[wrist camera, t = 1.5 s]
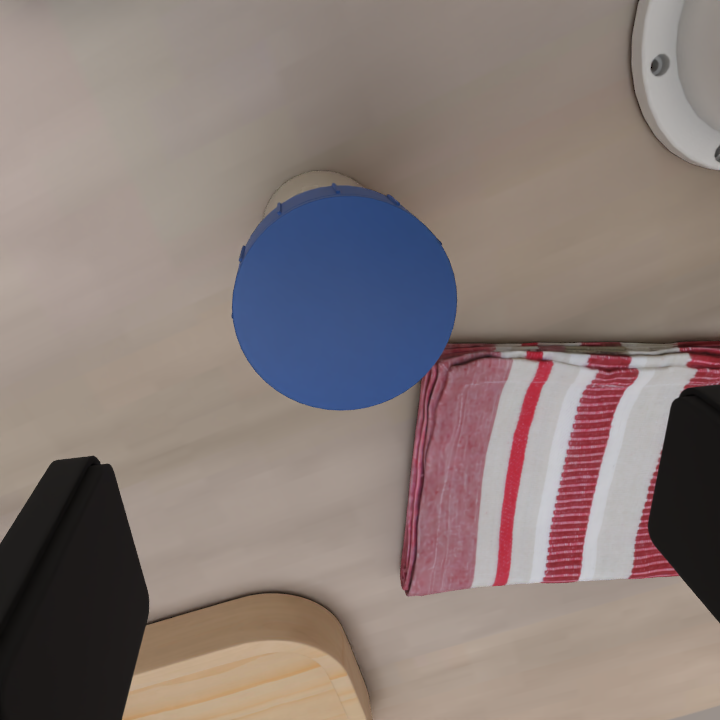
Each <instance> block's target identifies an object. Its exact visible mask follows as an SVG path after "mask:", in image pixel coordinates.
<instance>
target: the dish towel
mask: <svg viewBox="0 0 720 720" xmlns="http://www.w3.org/2000/svg"><path fill="white" fill-rule="evenodd" d="M717 384H720V341H689V342H677V343H672V344H644V343H622V342H590V343H583V342H578V343H536V342H535V343H523V344H484V343H474V344H458V343H457V344H451V343H447V345H446V347H445V349H444V351H443V353H442V354H441V356H440V357H439V359H438V360H437V362H436V363H435V365H434V366H433V367H432V368H431V369H430V370H429V372H428V373H427V374H426V375H425V376H424V377H423V378H422V379H421V387H420V400H419V407H418V415H417V423H416V431H415V440H414V449H413V457H412V465H411V474H410V485H409V497H408V505H407V515H406V526H405V534H404V545H403V551H402V560H401V568H400V580H401V586H402V589H403V590H405V593H406V595H407V596H424V595H429V594H434V593H441V592H447V591H453V590H460V589H468V588H476V587H486V586H502V585H511V584H526V583H538V582H539V583H569V582H576V581H593V580H612V579H642V578H653V577H670V576H680V575H679V574H678V573H677V572H676V571H675V569H674V568H673V567H672V566H671V565H670V564H669V562H668V561H667V560H666V559H665V558H664V556H663V555H662V554H661V553H660V552H659V550H658V549H657V548H656V547H655V546H654V544H653V543H652V541H651V538H650V536H649V532H648V520H649V515H650V510H651V504H652V499H653V494H654V489H655V484H656V479H657V474H658V469H659V464H660V458H661V453H662V448H663V443H664V438H665V433H666V428H667V423H668V418H669V412H670V407H671V404H672V402H673V401H674V399H676V398H679V395H680V394H681V392H682V391H683V390H685V389H686V388H691V387H699V386H708V385H717Z"/></svg>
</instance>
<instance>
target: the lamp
mask: <svg viewBox="0 0 720 720" xmlns="http://www.w3.org/2000/svg"><path fill="white" fill-rule="evenodd" d="M122 720H372V713H371V706H370V700H369V694H368V691H367V688H366V685H365V683H364V680H363V677H362V675H361V672H360V670H359V667H358V665H357V662H356V659H355V657H354V654H353V652H352V650H351V647H350V645H349V642H348V640H347V637H346V635H345V633H344V630H343V628H342V626H341V624H340V623H339V621H338V620H337V619H336V617H335V616H334V615H333V614H332V613H331V612H329V611H328V610H327V609H325V608H324V607H323V606H321V605H319V604H317V603H315V602H313V601H311V600H308V599H305V598H302V597H299V596H294V595H288V594H278V593H267V594H257V595H251V596H246V597H242V598H239V599H235V600H232V601H228V602H224V603H221V604H218V605H214V606H211V607H207V608H204V609H200V610H197V611H194V612H190V613H187V614H183V615H180V616H176V617H173V618H170V619H166V620H163V621H159V622H156V623H153V624H149V625H146V627H145V631H144V635H143V639H142V643H141V646H140V650H139V654H138V658H137V662H136V666H135V670H134V674H133V678H132V682H131V686H130V690H129V694H128V698H127V702H126V705H125V709H124V713H123V717H122Z"/></svg>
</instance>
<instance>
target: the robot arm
mask: <svg viewBox="0 0 720 720" xmlns="http://www.w3.org/2000/svg"><path fill="white" fill-rule="evenodd" d="M651 63H653V68H652V70H651ZM631 67H632V74H633V81H634V88H635V94H636V96H637V99H638V102H639V105H640V108H641V111H642V114H643V117H644V118H645V120H646V122H647V123H648V125H649V127H650V128H651V130H652V132H653V133H654V135H655V136H656V137H657V138H658V139H659V141H660V142H661V143H662V144H663V145H664V146H665V147H666V148H667V149H668V150H669V151H670V152H672V153H673V154H675V155H677V156H678V157H680V158H682V159H683V160H685V161H687V162H688V163H691V164H694V165H698V166H701V167H704V168H707V169H713V170H720V0H639V3H638V7H637V13H636V18H635V23H634V29H633V34H632V59H631ZM648 532H649V536H650V538H651V541H652V543H653V544H654V546H655V547H656V548H657V549H658V550H659V552H660V553H661V554H662V555H663V556H664V558H665V559H666V560H667V561H668V562H669V564H670V565H671V566H672V567H673V568H674V569H675V571H676V572H677V573H678V574H679V575H680V577H681V578H682V579H683V580H684V581H685V582H686V584H687V585H688V586H689V587H690V588H691V590H692V591H693V592H694V593H695V594H696V596H697V597H698V598H699V599H700V600H701V601H702V603H703V604H704V605H705V606H706V607H707V609H708V610H709V611H710V612H711V613H712V614H713V616H714V617H715V618H716V619H717V620H718V622H719V623H720V384H717V385H708V386H699V387H691V388H686V389H685V390H683V391H682V392H681V394H680V395H679V398H676V399H674V401H673V402H672V404H671V407H670V412H669V418H668V423H667V428H666V433H665V438H664V443H663V448H662V453H661V458H660V464H659V469H658V474H657V479H656V484H655V489H654V494H653V499H652V504H651V510H650V515H649V520H648ZM148 614H149V595H148V590H147V587H146V583H145V580H144V576H143V573H142V569H141V565H140V562H139V558H138V555H137V551H136V548H135V544H134V541H133V537H132V534H131V530H130V527H129V523H128V520H127V516H126V513H125V509H124V505H123V502H122V498H121V495H120V491H119V488H118V484H117V481H116V477H115V474H114V471H113V468H112V467H111V465H110V464H100V461H99V460H98V459H97V457H95V456H88V457H80V458H71V459H62V460H56V461H53V462H52V463H51V464H50V466H49V467H48V469H47V471H46V472H45V474H44V475H43V477H42V478H41V480H40V482H39V483H38V485H37V486H36V488H35V490H34V491H33V493H32V494H31V496H30V498H29V499H28V501H27V502H26V504H25V505H24V507H23V509H22V510H21V512H20V513H19V515H18V517H17V518H16V520H15V521H14V523H13V524H12V526H11V528H10V529H9V531H8V532H7V534H6V536H5V537H4V539H3V540H2V542H1V544H0V720H122V717H123V713H124V709H125V705H126V702H127V698H128V694H129V690H130V686H131V682H132V678H133V674H134V670H135V666H136V662H137V658H138V654H139V650H140V646H141V643H142V639H143V635H144V631H145V627H146V623H147V619H148Z"/></svg>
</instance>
